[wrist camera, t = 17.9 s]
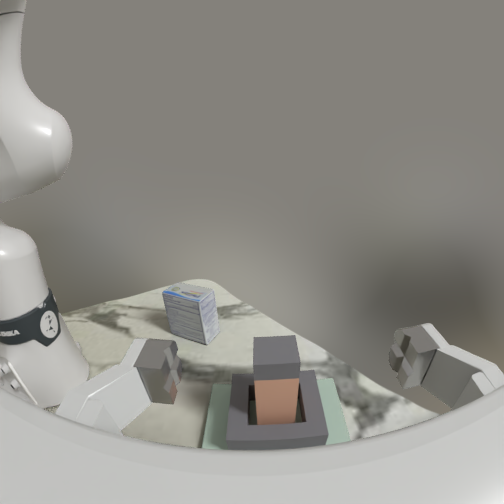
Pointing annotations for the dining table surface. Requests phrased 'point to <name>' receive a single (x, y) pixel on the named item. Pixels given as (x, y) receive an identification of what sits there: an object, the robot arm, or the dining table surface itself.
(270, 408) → the plug
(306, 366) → the dining table surface
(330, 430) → the board
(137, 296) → the dining table surface
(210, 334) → the medicine box
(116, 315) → the dining table surface
